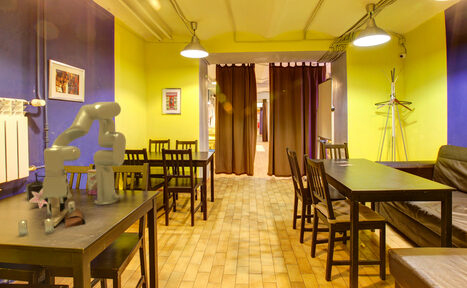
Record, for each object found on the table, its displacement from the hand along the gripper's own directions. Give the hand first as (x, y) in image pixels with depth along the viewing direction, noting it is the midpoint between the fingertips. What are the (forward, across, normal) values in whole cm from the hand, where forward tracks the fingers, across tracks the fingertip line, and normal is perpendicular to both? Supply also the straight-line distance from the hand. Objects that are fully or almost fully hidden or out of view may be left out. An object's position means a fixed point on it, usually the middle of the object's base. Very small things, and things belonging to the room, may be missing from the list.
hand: (57, 210), depth 128 cm
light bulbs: (+6, +3, 0) cm, 7 cm away
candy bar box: (+6, -4, -50) cm, 51 cm away
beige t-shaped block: (+4, 0, 0) cm, 4 cm away
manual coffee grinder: (+6, +29, -50) cm, 58 cm away
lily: (+6, +20, -30) cm, 37 cm away
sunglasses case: (+6, -7, -1) cm, 9 cm away
